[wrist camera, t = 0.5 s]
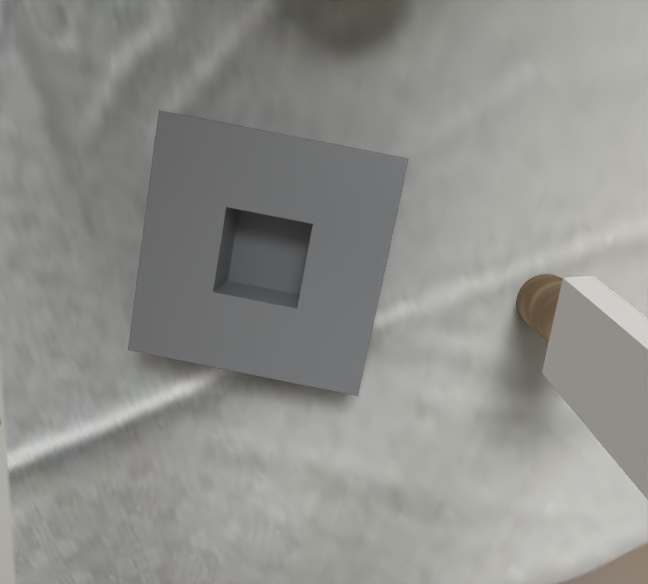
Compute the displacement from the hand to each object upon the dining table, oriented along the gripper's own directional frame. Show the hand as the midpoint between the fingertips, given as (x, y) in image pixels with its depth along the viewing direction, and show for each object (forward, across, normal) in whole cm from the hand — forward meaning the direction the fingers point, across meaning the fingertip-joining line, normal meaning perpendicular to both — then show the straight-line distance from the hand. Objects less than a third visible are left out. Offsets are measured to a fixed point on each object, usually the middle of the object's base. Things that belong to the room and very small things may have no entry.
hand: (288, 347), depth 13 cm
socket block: (+24, +2, -8) cm, 26 cm away
